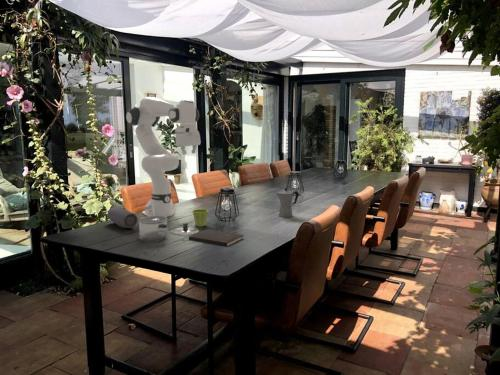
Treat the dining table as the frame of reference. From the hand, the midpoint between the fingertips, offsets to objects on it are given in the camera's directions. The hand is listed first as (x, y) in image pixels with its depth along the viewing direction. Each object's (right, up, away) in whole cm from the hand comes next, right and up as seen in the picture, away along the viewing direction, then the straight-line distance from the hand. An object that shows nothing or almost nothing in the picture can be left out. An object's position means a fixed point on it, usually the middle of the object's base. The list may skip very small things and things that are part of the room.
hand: (189, 153), depth 229 cm
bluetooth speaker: (-39, -41, +4) cm, 57 cm away
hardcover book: (+17, -46, -21) cm, 53 cm away
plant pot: (+6, -41, +6) cm, 42 cm away
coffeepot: (+58, -37, +31) cm, 75 cm away
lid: (-1, -43, -7) cm, 44 cm away
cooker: (-15, -45, -19) cm, 51 cm away
